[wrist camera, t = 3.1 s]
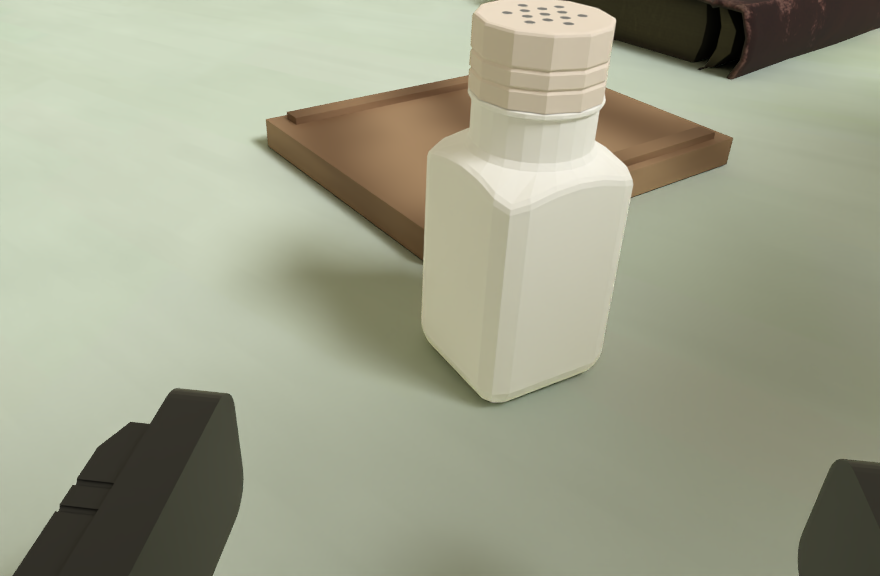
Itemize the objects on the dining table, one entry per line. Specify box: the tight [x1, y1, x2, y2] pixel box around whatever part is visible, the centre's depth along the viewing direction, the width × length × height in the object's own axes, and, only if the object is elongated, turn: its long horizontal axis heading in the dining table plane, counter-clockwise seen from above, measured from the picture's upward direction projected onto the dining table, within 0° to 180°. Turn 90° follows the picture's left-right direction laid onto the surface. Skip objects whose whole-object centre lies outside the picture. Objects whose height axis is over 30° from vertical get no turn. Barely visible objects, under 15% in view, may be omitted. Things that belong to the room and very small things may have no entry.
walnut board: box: [266, 75, 733, 260], centre depth 34 cm, size 16×12×2 cm
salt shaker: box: [421, 0, 633, 402], centre depth 20 cm, size 4×4×10 cm
